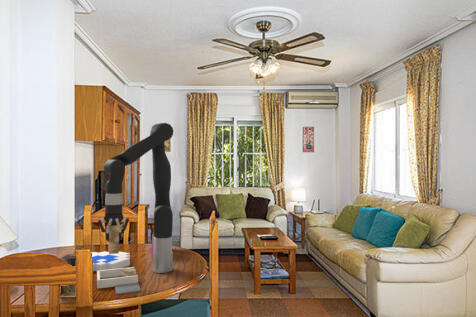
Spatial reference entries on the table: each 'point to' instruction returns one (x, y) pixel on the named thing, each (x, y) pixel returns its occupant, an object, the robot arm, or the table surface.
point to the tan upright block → (113, 239)
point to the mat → (127, 288)
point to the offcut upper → (127, 272)
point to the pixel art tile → (110, 260)
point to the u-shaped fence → (114, 281)
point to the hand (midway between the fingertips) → (113, 240)
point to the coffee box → (68, 289)
